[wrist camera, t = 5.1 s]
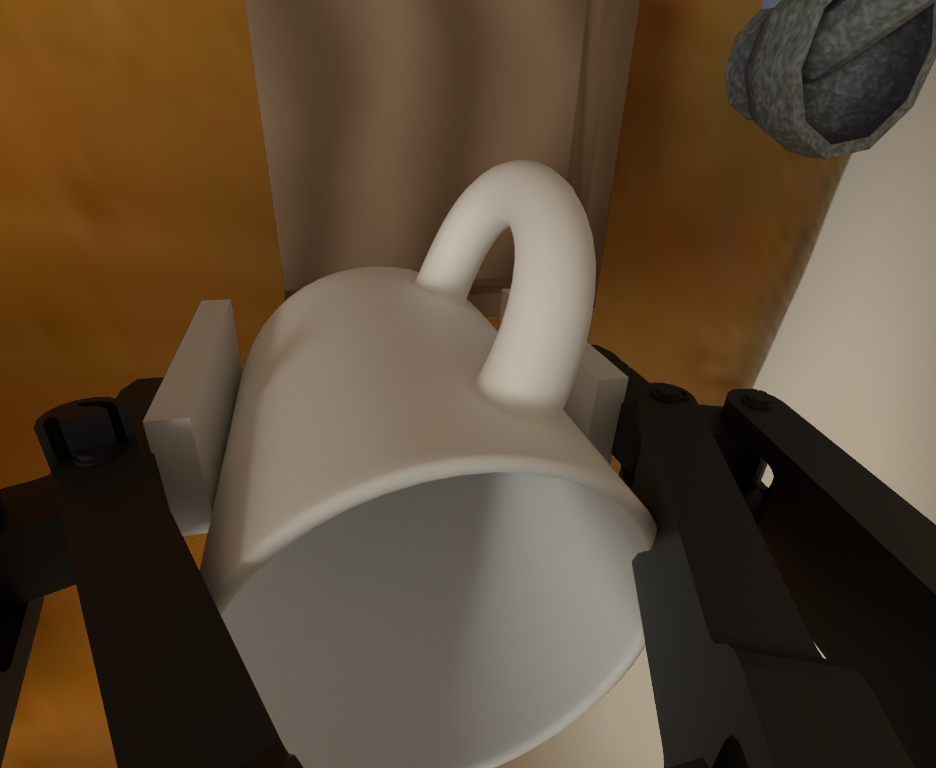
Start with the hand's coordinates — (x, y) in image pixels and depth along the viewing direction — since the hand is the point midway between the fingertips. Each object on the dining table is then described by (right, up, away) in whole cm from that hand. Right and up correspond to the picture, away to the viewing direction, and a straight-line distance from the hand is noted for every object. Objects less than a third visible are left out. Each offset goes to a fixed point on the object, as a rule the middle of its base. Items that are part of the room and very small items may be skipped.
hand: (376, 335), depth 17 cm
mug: (+1, 0, +1) cm, 1 cm away
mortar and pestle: (+22, +19, +16) cm, 33 cm away
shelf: (0, +12, +13) cm, 17 cm away
